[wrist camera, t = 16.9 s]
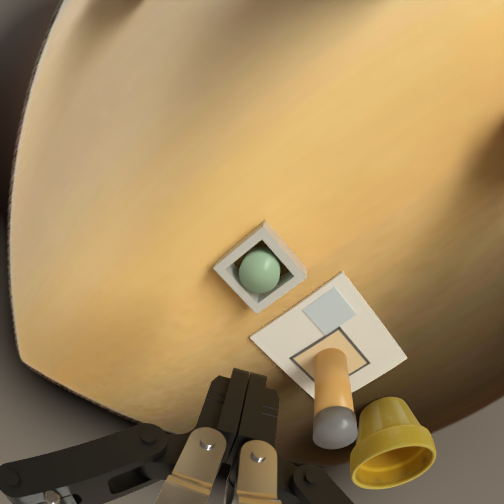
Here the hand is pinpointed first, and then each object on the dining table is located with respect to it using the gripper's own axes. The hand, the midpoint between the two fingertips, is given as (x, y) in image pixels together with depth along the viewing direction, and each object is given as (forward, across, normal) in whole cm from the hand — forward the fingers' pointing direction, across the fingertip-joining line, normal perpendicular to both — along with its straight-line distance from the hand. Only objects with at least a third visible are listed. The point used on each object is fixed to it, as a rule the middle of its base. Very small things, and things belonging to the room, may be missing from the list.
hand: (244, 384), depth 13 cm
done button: (+18, +1, +1) cm, 18 cm away
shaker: (+17, -10, +10) cm, 22 cm away
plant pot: (+18, -20, +18) cm, 32 cm away
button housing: (+18, +1, +2) cm, 18 cm away
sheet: (+18, -9, +9) cm, 22 cm away
